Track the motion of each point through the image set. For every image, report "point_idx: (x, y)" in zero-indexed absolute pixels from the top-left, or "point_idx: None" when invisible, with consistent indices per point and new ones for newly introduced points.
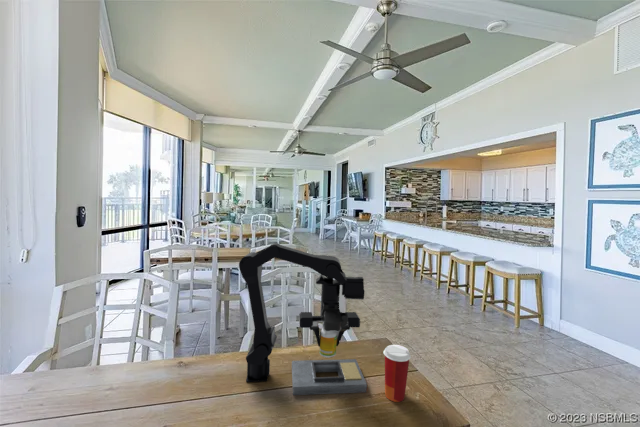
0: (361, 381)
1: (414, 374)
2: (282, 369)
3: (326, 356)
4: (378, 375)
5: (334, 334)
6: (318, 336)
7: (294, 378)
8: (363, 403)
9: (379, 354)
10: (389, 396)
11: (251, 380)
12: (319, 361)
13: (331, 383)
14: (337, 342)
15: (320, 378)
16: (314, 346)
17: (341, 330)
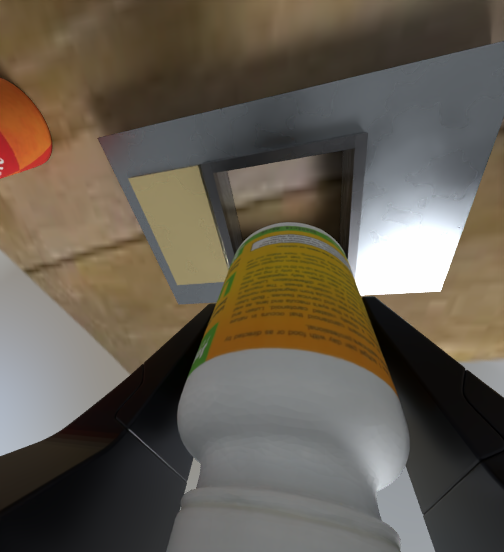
0: (126, 160)
1: (12, 256)
2: (470, 262)
3: (299, 224)
4: (108, 245)
5: (196, 400)
6: (442, 383)
7: (481, 145)
8: (112, 32)
9: (132, 335)
10: (3, 85)
11: None
12: None
13: (267, 119)
14: (202, 323)
15: (329, 140)
16: None
17: (47, 471)
